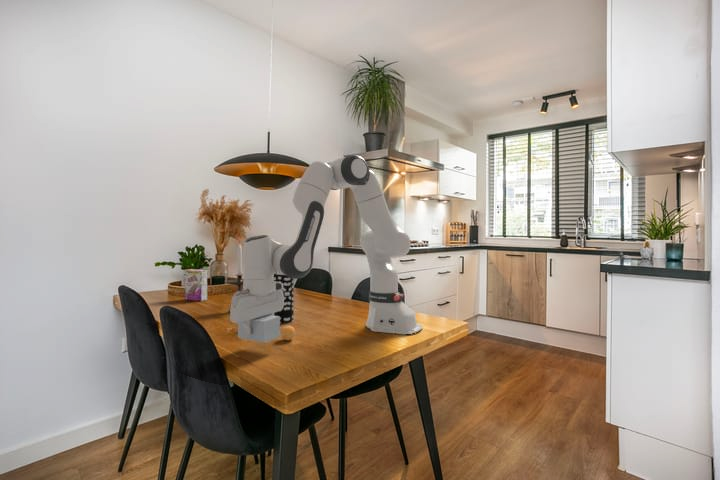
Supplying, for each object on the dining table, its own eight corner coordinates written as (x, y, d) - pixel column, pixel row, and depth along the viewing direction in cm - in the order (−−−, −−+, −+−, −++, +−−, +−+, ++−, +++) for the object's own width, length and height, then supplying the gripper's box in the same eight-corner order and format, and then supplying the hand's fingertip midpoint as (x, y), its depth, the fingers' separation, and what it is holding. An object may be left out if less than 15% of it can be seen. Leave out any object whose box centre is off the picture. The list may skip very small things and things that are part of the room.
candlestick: (223, 310, 170) (223, 236, 169) (244, 307, 178) (244, 236, 177) (234, 314, 163) (234, 237, 162) (255, 311, 170) (256, 237, 170)
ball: (298, 339, 127) (298, 325, 127) (288, 343, 123) (289, 328, 122) (287, 337, 129) (287, 323, 129) (277, 340, 125) (277, 326, 125)
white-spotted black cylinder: (288, 324, 148) (289, 275, 147) (269, 322, 149) (270, 274, 149) (296, 319, 156) (296, 273, 155) (278, 318, 157) (278, 272, 157)
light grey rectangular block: (280, 336, 115) (279, 316, 114) (264, 342, 109) (264, 321, 108) (254, 332, 120) (253, 312, 120) (238, 337, 114) (237, 317, 114)
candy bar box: (184, 300, 195) (184, 269, 194) (191, 298, 199) (191, 269, 199) (201, 301, 191) (201, 270, 191) (207, 300, 196) (207, 269, 196)
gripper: (240, 293, 103) (241, 341, 104) (286, 283, 121) (287, 324, 122) (224, 291, 106) (225, 338, 107) (272, 281, 124) (273, 321, 125)
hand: (258, 330), depth 114 cm, fingers closed on light grey rectangular block, 7 cm apart
